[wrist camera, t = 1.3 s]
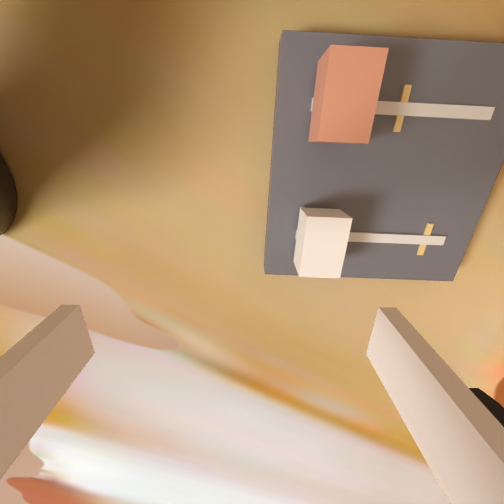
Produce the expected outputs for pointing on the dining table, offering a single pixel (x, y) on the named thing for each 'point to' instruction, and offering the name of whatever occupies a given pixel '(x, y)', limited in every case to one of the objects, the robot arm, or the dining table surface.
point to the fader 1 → (346, 94)
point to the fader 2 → (321, 242)
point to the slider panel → (391, 155)
